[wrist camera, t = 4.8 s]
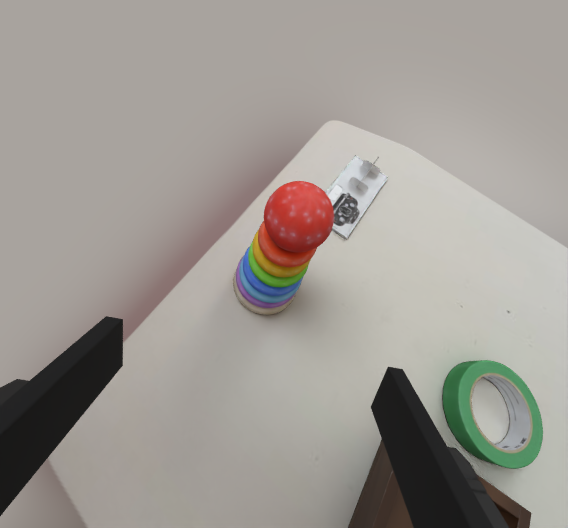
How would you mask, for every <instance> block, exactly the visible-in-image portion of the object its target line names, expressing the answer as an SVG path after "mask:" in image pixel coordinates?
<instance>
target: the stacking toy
mask: <svg viewBox="0 0 568 528" xmlns="http://www.w3.org/2000/svg"><path fill="white" fill-rule="evenodd" d="M333 223H334V210H333V206H332V203H331V201H330V199H329V197H328V196H327V194H326V193H325V192H324V191H323V190H322V189H321V188H319V187H318V186H316V185H314V184H312V183H309V182H304V181H295V182H290V183H287V184H284V185H283V186H281V187H279V188H278V189H277V190H276V191H275V192H274V193H273V194H272V195H271V196H270V198H269V200H268V201H267V204H266V207H265V211H264V221H263V223H262V224H261V226H260V228H259V230H258V231H257V233H256V234H255V237H254V239H253V242H252V244H251V246H250V247H249V248H248V249H247V251H246V253H245V255H244V256H243V258H242V259H241V260H240V262H239V264H238V266H237V269H236V271H235V274H234V278H233V286H234V291H235V294H236V296H237V298H238V300H239V301H240V302H241V303H242V305H243V306H245V307H246V308H247V309H249V310H250V311H252V312H255V313H258V314H265V315H269V314H275V313H278V312H280V311H282V310H284V309H285V308H286V307H288V306H289V305H290V303H291V302H292V301H293V299H294V297H295V294H296V291H297V290H298V288H299V286H300V284H301V281H302V278H303V276H304V274H305V273H306V271H307V268H308V264H309V262H310V260H311V258H312V256H313V255H314V253H315V251H316V249H317V247H318V246H320V245H321V244H322V243H323V242H324V241H325V240H326V239H327V237H328V236H329V234H330V232H331V230H332V227H333Z"/></svg>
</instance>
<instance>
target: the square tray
mask: <svg viewBox="0 0 568 528" xmlns="http://www.w3.org/2000/svg"><path fill="white" fill-rule="evenodd" d="M476 475H477V474H476ZM477 476H478V475H477ZM478 478H479V481H481V483H482V484H483V486H484V487H485V489H486V491H487V494H488V495H489V496H490V497H491V499H492V500H493V502H494V504H495V505H496V507H497V508H498V510H499V512H500V513H501V515H502V517H503V518H504V520H505V521H506V523H507V525H508V526H509V528H529V526H530V519H531V512H529V511H528V510H526V509H525V508H524V507H522V506H521V505H519V504H518V503H516V502H515V501H514V500H512V499H511V498H509V497H508V496H507V495H505V494H504V493H502V492H501V491H499V490H498V489H497V488H495V487H494V486H492V485H491V484H490V483H488V482H487V481H485V480H484V479H483V478H481V477H480V476H478ZM348 528H414V527H413V525H412V522H411V519H410V516H409V513H408V511H407V508H406V505H405V502H404V499H403V496H402V494H401V491H400V488H399V485H398V482H397V480H396V477H395V474H394V471H393V468H392V465H391V463H390V460H389V457H388V454H387V451H386V449H385V446H384V443H383V440H382V441H381V443H380V446H379V448H378V451H377V454H376V456H375V459H374V461H373V464H372V467H371V469H370V472H369V475H368V477H367V480H366V482H365V485H364V488H363V490H362V493H361V495H360V498H359V501H358V503H357V506H356V508H355V511H354V514H353V516H352V519H351V522H350V524H349V527H348Z"/></svg>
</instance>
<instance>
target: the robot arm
mask: <svg viewBox="0 0 568 528" xmlns="http://www.w3.org/2000/svg"><path fill="white" fill-rule="evenodd" d="M122 366H123V319H118V318H112V317H105V318H104V319H102V320H101V321H100V322H99V323H98V324H96V325H95V326H94V327H93V328H92V329H91V330H89V331H88V332H87V333H86V334H85V335H83V336H82V337H81V338H80V339H79V340H78V341H76V342H75V343H74V344H73V345H72V346H70V347H69V348H68V349H67V350H66V351H64V352H63V353H62V354H61V355H60V356H58V357H57V358H56V359H55V360H54V361H53V362H51V363H50V364H49V365H48V366H47V367H46V368H44V369H43V370H42V371H41V372H40V373H38V374H37V375H36V376H35V377H34V378H32V379H31V380H30V381H26V380H20V379H16V380H14V381H13V382H11V383H8V384H7V385H5V386H3V387H1V388H0V516H1V515H2V513H3V512H4V511H5V510H6V508H7V507H8V506H9V505H10V503H11V502H12V501H13V500H14V499H15V497H16V496H17V495H18V494H19V492H20V491H21V490H22V489H23V487H24V486H25V485H26V484H27V483H28V481H29V480H30V479H31V478H32V476H33V475H34V474H35V473H36V471H37V470H38V469H39V468H40V466H41V465H42V464H43V463H44V462H45V460H46V459H47V458H48V457H49V455H50V454H51V453H52V452H53V451H54V449H55V448H56V447H57V446H58V444H59V443H60V442H61V441H62V439H63V438H64V437H65V436H66V435H67V433H68V432H69V431H70V430H71V428H72V427H73V426H74V425H75V423H76V422H77V421H78V420H79V419H80V417H81V416H82V415H83V414H84V412H85V411H86V410H87V409H88V407H89V406H90V405H91V404H92V403H93V401H94V400H95V399H96V398H97V396H98V395H99V394H100V393H101V391H102V390H103V389H104V388H105V387H106V385H107V384H108V383H109V382H110V380H111V379H112V378H113V377H114V375H115V374H116V373H117V372H118V371H119V369H120V368H121V367H122ZM371 409H372V412H373V415H374V418H375V420H376V423H377V426H378V429H379V432H380V434H381V437H382V440H383V443H384V446H385V449H386V451H387V454H388V457H389V460H390V463H391V465H392V468H393V471H394V474H395V477H396V480H397V482H398V485H399V488H400V491H401V494H402V496H403V499H404V502H405V505H406V508H407V511H408V513H409V516H410V519H411V522H412V525H413V527H414V528H509V526H508V525H507V523H506V521H505V520H504V518H503V517H502V515H501V513H500V512H499V510H498V508H497V507H496V505H495V504H494V502H493V500H492V499H491V497H490V496H489V495H488V494H487V491H486V489H485V487H484V486H483V484H482V483H481V481H479V478H478V476H477V475H476V473H475V471H474V470H473V468H472V466H471V465H470V463H469V462H468V461H467V460H466V459H465V458H464V457H463V455H462V454H461V453H460V452H459V451H458V450H457V449H456V448H451V447H447V446H446V444H445V442H444V440H443V439H442V437H441V435H440V433H439V432H438V430H437V428H436V427H435V425H434V423H433V421H432V420H431V418H430V416H429V414H428V413H427V411H426V409H425V407H424V406H423V404H422V402H421V400H420V399H419V397H418V395H417V394H416V392H415V390H414V388H413V387H412V385H411V383H410V381H409V380H408V378H407V376H406V374H405V373H404V371H403V369H398V368H392V367H388V368H387V371H386V373H385V375H384V377H383V380H382V382H381V384H380V387H379V389H378V391H377V394H376V396H375V398H374V401H373V403H372V405H371Z"/></svg>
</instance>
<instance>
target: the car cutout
mask: <svg viewBox="0 0 568 528" xmlns="http://www.w3.org/2000/svg"><path fill="white" fill-rule="evenodd" d="M378 158H379V157H378ZM378 158H377V159H378ZM377 159H376V161H377ZM376 161H375V162H376ZM375 162H374V163H373V164H372V163H370V162H369V161H363V160H362V159H360V158H359V157H357V156H356V155H355V156H354V158H353V159H352V160H351V161H350V163H349V164H348V165H347V166H346V167H345V169H344V170H343V171H342V172H341V174H340V175H339V176H338V177H337V179H336V180H335V181H334V182H333V184H332V185H331V186H330V187H329V189H328V190H327V191H326V192H325V193H326V194H327V196H328V197H329V199H330V201H331V203H332V206H333V210H334V223H333V227H332V230H333V231H334V232H336V233H337V234H339V235H340V236H342V237H343V238H344V239H347V238H348V236H349V235H350V233H351V232H352V230H353V229H354V227H355V226H356V224H357V223H358V221H359V220H360V218H361V217H362V215H363V214H364V212H365V211H366V209H367V208H368V206H369V205H370V203H371V202H372V201H373V199H374V198H375V196H376V195H377V193H378V192H379V190H380V189H381V187H382V186H383V184H384V183H385V181H386V180H387V178H388V177H387V176H386V175H384V174H383V173H381V172H380V169H379V168H378V167H376V166H375V165H374V164H375Z"/></svg>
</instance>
